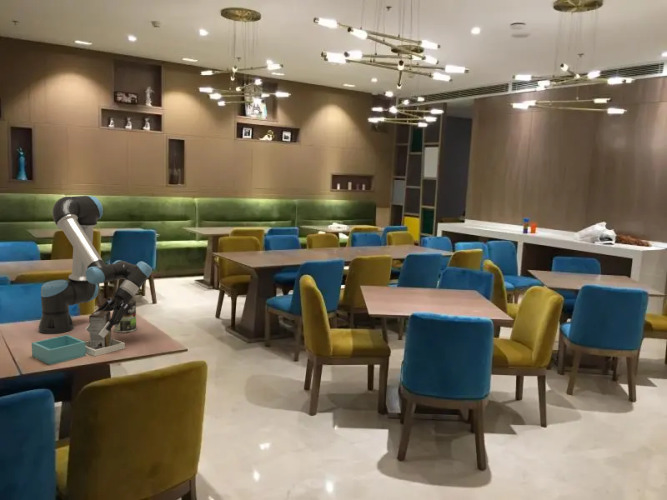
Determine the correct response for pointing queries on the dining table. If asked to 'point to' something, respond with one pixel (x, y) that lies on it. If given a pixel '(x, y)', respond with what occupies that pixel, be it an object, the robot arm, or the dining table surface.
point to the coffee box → (99, 329)
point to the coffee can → (128, 319)
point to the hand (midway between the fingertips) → (94, 333)
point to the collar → (105, 348)
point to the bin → (58, 349)
